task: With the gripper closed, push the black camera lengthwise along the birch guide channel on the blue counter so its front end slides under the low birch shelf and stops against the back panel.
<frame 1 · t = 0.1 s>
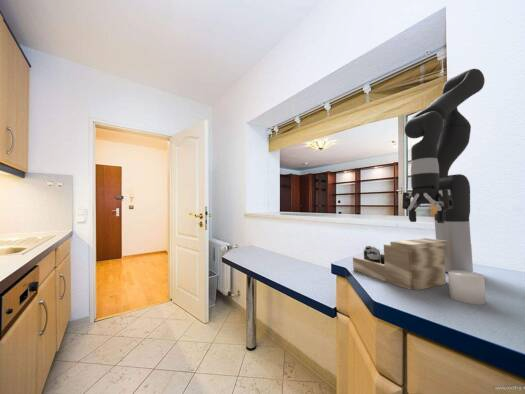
hand: (426, 222, 72), 17 cm above the worktop, tool pointing down, fingers open, 8 cm apart
cubby: (408, 279, 67), on the worktop
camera: (377, 271, 77), on the worktop
cream rounded block: (467, 299, 53), on the worktop
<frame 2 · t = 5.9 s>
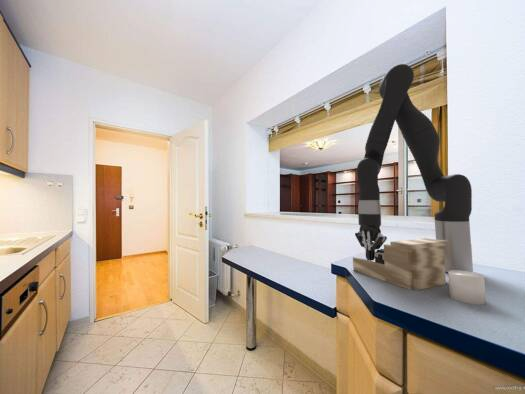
hand: (370, 259, 80), 3 cm above the worktop, tool pointing down, fingers closed
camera: (393, 276, 71), on the worktop, touching hand
everything else where it was.
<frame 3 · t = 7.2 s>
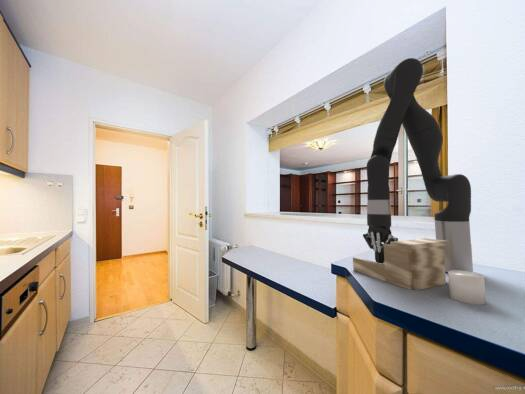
hand: (379, 262, 76), 3 cm above the worktop, tool pointing down, fingers closed
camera: (405, 280, 67), on the worktop, touching cubby, hand
everything else where it was.
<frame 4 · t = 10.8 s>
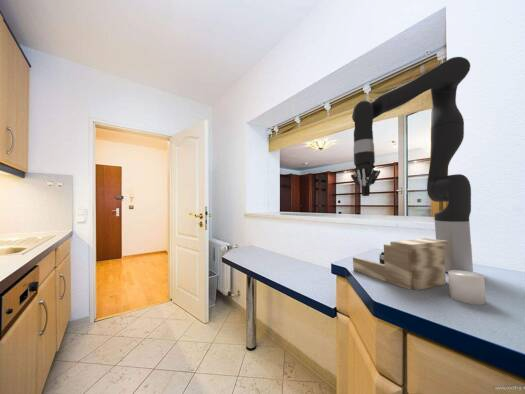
hand: (365, 195, 86), 27 cm above the worktop, tool pointing down, fingers closed
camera: (400, 279, 68), on the worktop
everything else where it was.
at the end: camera 1.4 cm from the target spot, on the worktop; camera tilted 2°; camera moved 9.4 cm from its start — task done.
